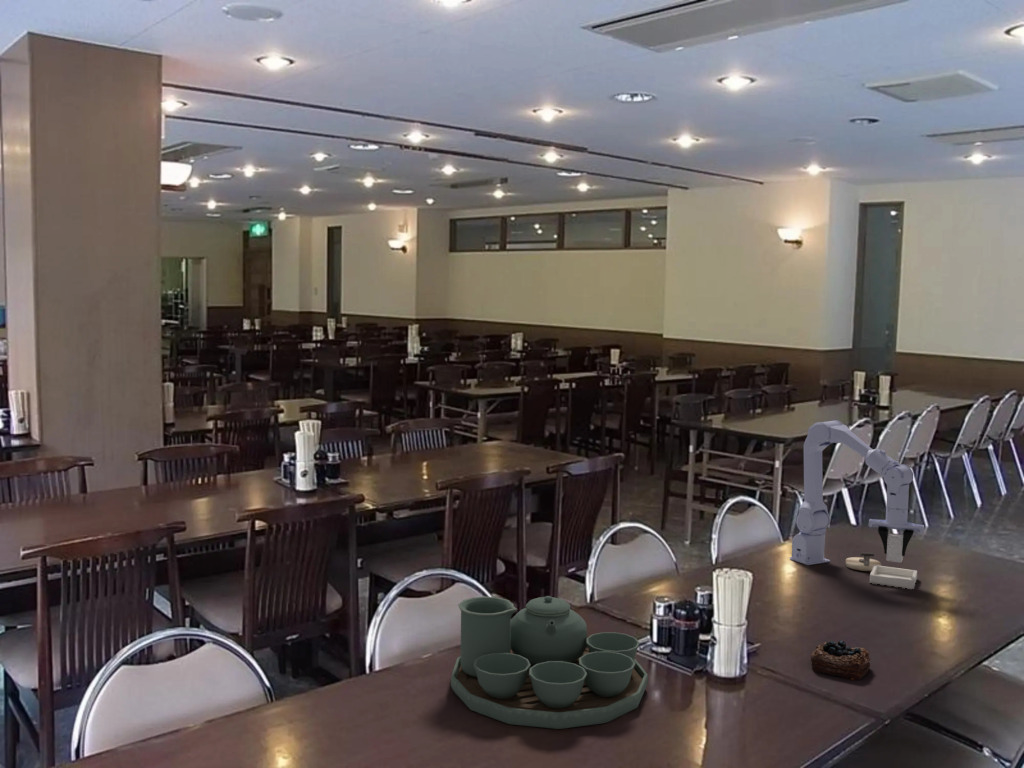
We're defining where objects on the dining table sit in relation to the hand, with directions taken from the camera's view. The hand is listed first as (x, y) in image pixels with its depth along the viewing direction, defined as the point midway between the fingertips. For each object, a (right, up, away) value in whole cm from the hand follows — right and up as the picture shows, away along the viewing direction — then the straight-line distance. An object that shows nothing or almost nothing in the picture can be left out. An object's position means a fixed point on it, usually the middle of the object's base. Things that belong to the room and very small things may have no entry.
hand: (894, 554), depth 263 cm
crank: (-4, -7, +14) cm, 16 cm away
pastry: (-39, -13, -64) cm, 76 cm away
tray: (0, -8, +1) cm, 8 cm away
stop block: (0, -2, +1) cm, 2 cm away
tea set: (-102, -14, -75) cm, 127 cm away
